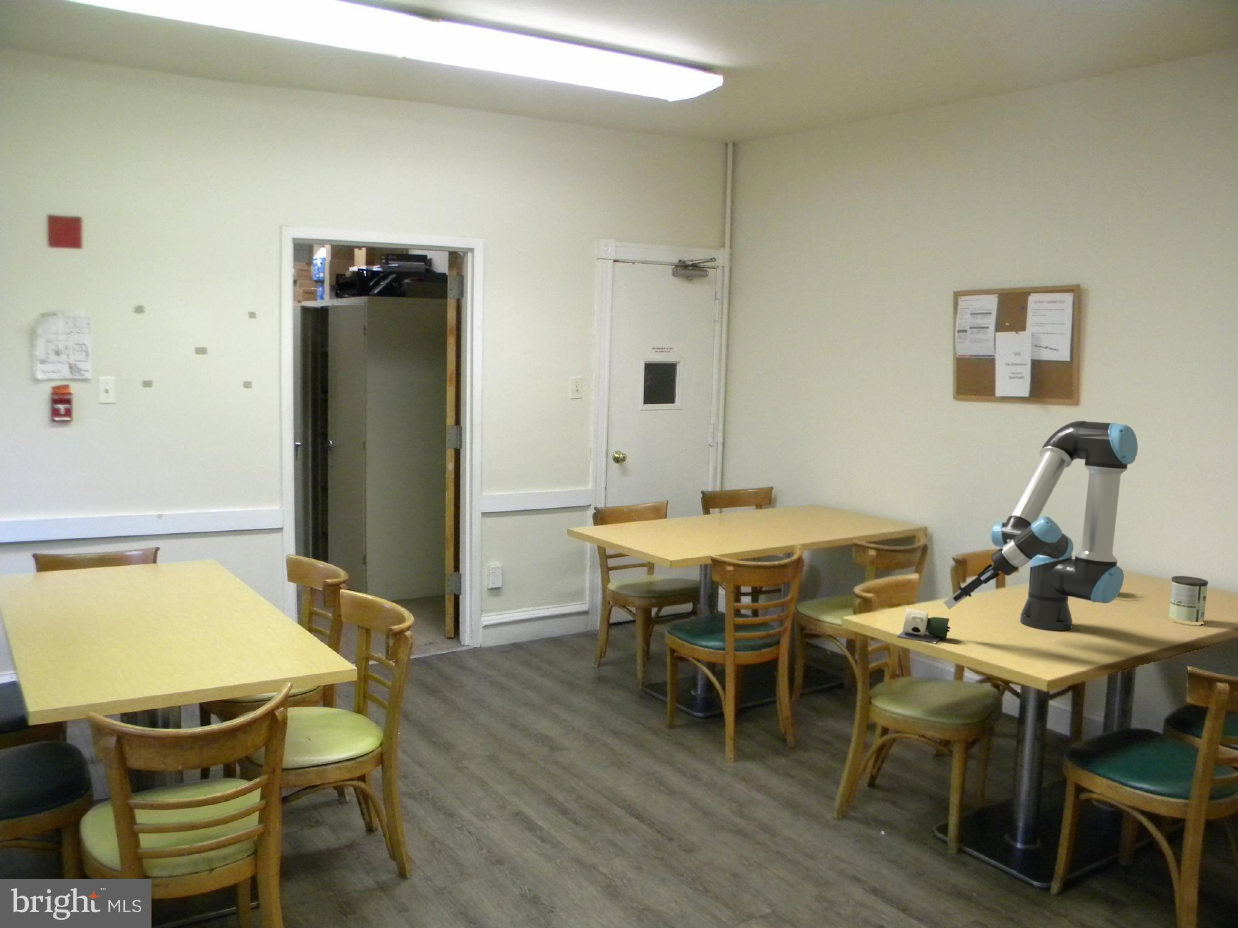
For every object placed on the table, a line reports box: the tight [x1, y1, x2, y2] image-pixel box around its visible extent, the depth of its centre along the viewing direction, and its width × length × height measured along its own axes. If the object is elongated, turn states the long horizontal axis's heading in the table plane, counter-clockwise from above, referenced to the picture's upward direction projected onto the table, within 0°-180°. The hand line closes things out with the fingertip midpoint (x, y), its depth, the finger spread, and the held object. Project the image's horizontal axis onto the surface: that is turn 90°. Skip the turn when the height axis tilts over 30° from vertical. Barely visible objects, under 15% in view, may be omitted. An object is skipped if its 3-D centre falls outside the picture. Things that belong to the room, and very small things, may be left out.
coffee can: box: [1168, 575, 1209, 622], centre depth 328 cm, size 10×10×14 cm
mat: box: [897, 630, 941, 643], centre depth 301 cm, size 11×16×1 cm
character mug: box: [902, 607, 951, 641], centre depth 297 cm, size 11×7×13 cm
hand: (947, 605), depth 298 cm, fingers closed
